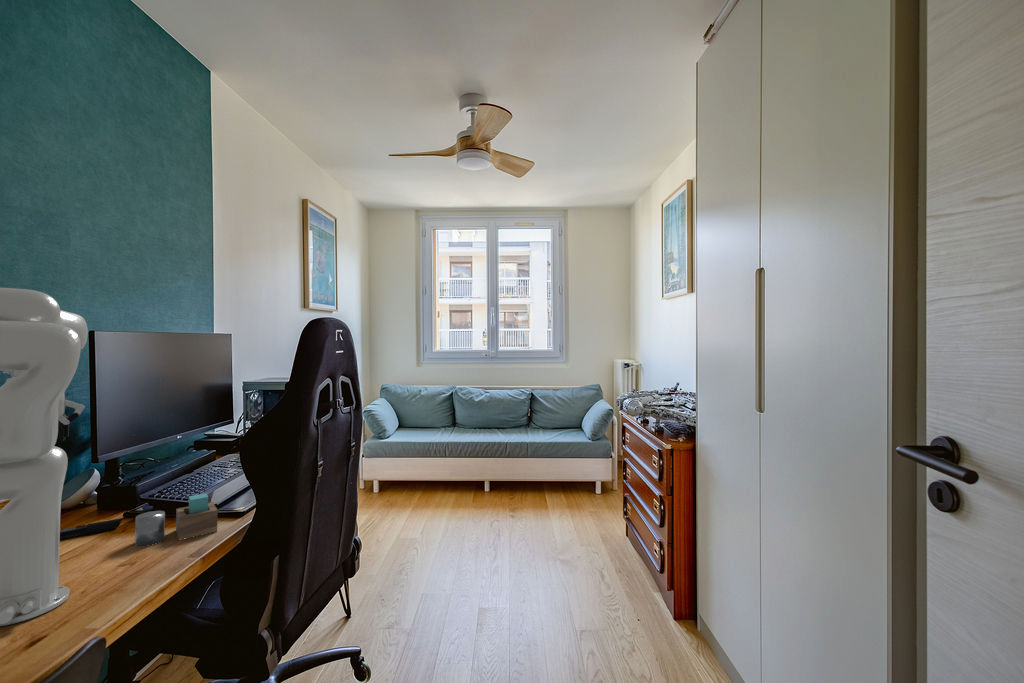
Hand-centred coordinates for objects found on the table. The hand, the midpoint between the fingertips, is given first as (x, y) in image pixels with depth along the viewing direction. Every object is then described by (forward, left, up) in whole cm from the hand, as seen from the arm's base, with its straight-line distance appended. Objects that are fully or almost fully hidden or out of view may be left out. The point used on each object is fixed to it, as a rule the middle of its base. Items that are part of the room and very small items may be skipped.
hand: (34, 443), depth 106 cm
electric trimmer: (+12, -8, -29) cm, 32 cm away
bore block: (-6, -32, -28) cm, 43 cm away
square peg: (-6, -32, -27) cm, 42 cm away
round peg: (-6, -22, -28) cm, 36 cm away
